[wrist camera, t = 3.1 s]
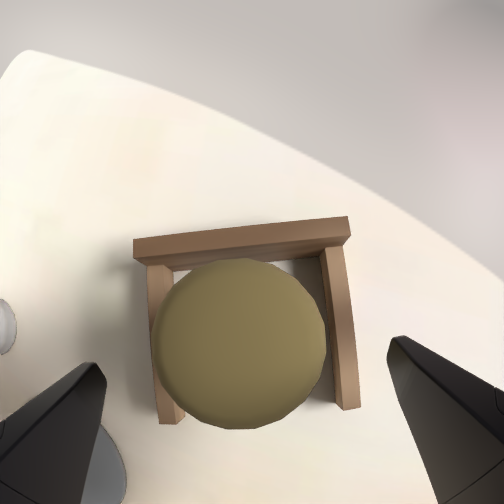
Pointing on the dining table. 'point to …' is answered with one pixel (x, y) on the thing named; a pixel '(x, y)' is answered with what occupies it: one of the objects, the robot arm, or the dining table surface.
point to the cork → (238, 343)
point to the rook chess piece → (6, 327)
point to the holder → (264, 250)
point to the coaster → (104, 473)
